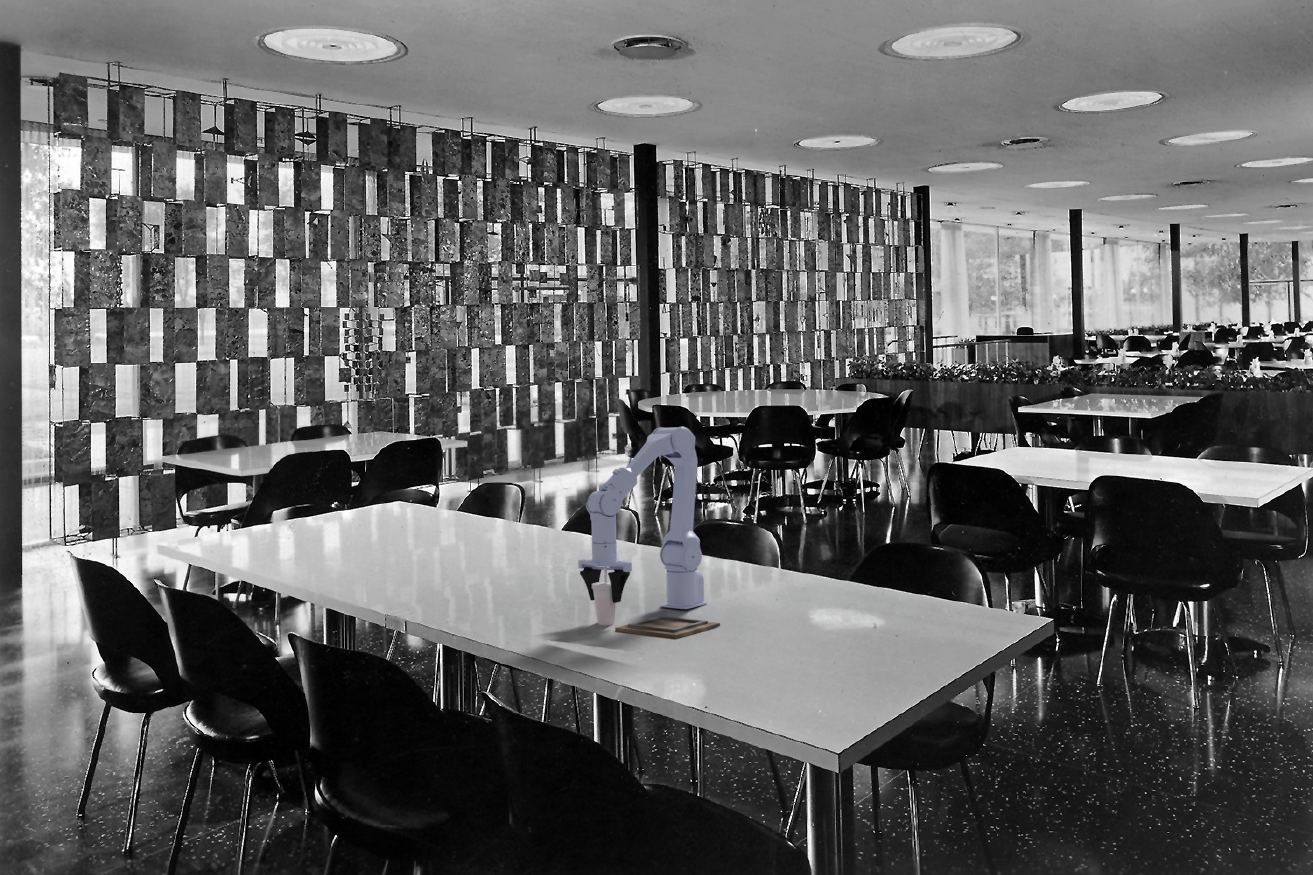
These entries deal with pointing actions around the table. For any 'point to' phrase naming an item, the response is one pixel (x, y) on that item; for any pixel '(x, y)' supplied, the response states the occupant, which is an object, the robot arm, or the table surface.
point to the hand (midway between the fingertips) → (605, 600)
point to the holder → (668, 627)
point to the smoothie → (604, 601)
